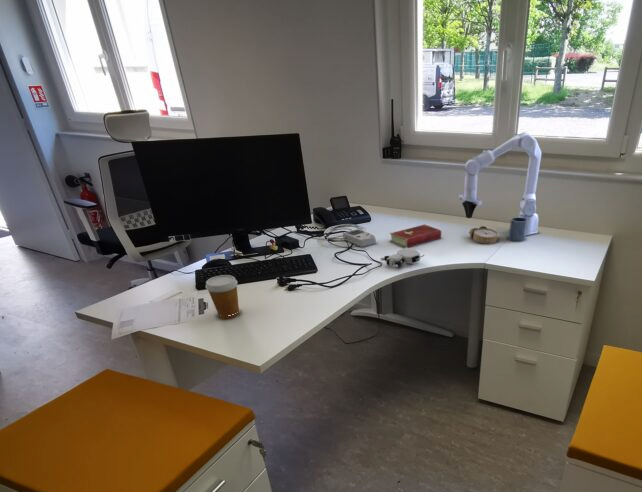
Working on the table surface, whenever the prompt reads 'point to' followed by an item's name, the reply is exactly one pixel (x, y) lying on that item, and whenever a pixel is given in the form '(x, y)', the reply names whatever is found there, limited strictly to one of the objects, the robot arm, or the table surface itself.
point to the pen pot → (517, 229)
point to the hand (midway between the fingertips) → (468, 217)
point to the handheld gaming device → (359, 237)
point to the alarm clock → (484, 235)
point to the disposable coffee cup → (224, 295)
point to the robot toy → (402, 257)
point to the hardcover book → (415, 236)
